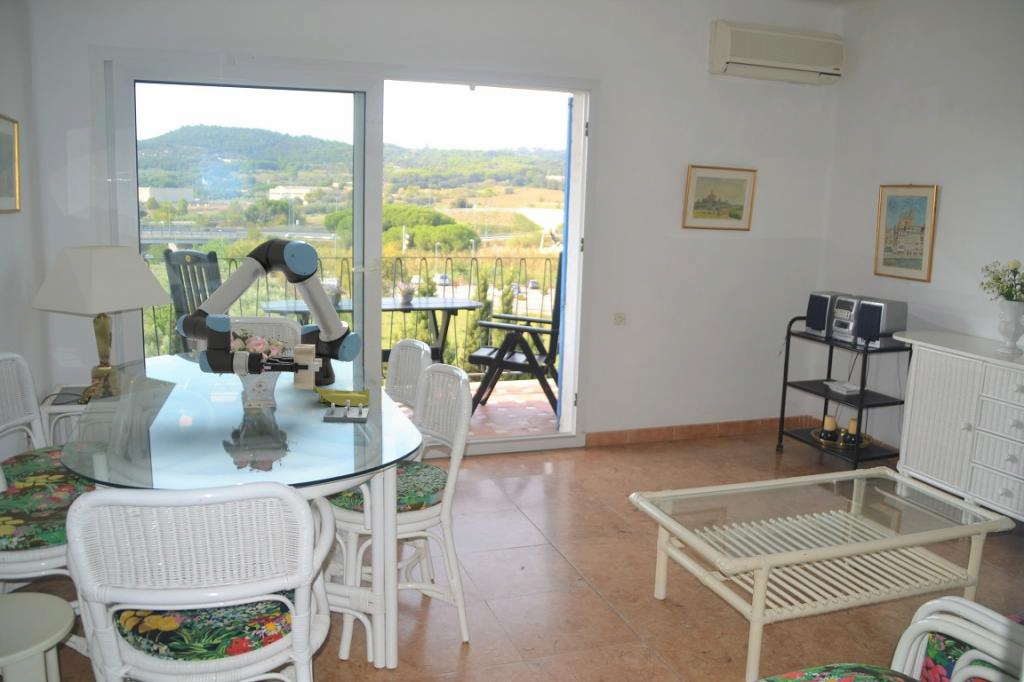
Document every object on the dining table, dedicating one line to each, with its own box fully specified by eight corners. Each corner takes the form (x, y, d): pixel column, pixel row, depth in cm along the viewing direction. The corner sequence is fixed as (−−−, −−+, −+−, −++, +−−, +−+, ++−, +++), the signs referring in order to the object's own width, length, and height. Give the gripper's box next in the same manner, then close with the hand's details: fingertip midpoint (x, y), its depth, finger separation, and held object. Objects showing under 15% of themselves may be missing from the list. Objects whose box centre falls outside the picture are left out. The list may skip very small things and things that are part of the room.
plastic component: (365, 392, 303) (369, 386, 294) (365, 411, 301) (369, 406, 292) (311, 389, 297) (313, 383, 288) (310, 409, 295) (312, 404, 286)
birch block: (296, 384, 276) (296, 344, 274) (314, 385, 277) (315, 344, 274) (293, 389, 270) (293, 347, 268) (312, 389, 271) (312, 348, 268)
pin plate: (327, 411, 282) (327, 399, 282) (368, 412, 284) (368, 399, 283) (323, 421, 271) (323, 408, 270) (366, 422, 272) (366, 409, 271)
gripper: (255, 367, 280) (324, 369, 283) (242, 380, 262) (316, 382, 264) (255, 346, 279) (324, 348, 281) (242, 357, 260) (316, 359, 263)
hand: (320, 364), depth 273 cm, fingers closed on birch block, 6 cm apart
